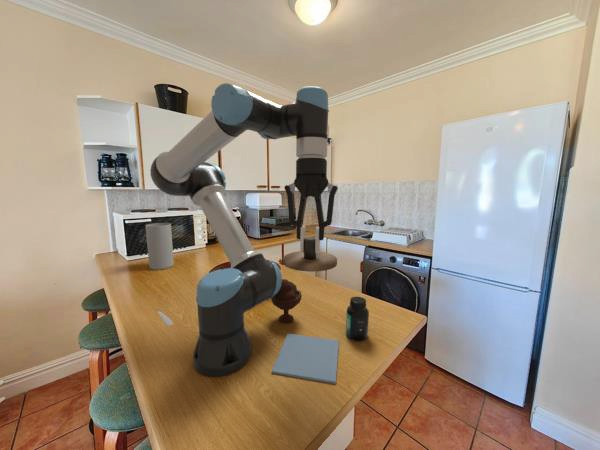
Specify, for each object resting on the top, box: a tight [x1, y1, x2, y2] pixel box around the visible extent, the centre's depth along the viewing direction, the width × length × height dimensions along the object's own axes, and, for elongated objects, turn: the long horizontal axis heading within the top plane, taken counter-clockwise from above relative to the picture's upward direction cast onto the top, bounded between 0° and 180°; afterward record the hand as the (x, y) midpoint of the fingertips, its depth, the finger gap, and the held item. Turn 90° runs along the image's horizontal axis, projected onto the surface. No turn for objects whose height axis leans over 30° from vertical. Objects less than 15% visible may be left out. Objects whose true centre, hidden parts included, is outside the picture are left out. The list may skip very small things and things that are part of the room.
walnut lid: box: [282, 237, 338, 273], centre depth 62 cm, size 14×14×6 cm
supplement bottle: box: [345, 296, 370, 342], centre depth 75 cm, size 7×7×12 cm
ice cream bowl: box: [270, 278, 303, 324], centre depth 84 cm, size 11×11×15 cm
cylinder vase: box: [145, 222, 175, 271], centre depth 138 cm, size 12×12×25 cm
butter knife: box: [157, 311, 174, 327], centre depth 89 cm, size 1×27×3 cm
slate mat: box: [271, 333, 340, 385], centre depth 66 cm, size 16×16×1 cm
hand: (310, 251), depth 62 cm, fingers closed on walnut lid, 3 cm apart
